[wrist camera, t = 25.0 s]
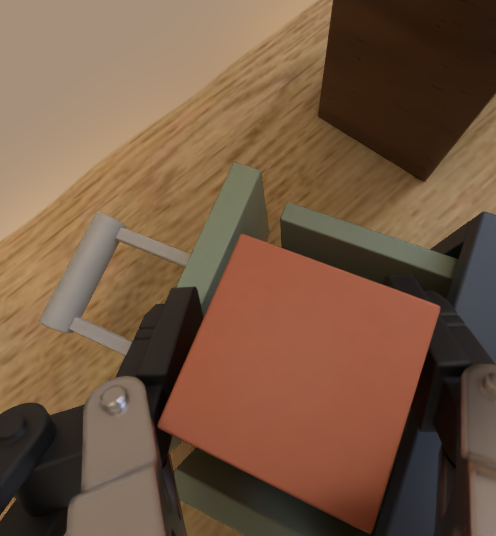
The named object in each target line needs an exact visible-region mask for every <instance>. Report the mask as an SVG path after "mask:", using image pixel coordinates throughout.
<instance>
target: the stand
mask: <svg viewBox="0 0 496 536" xmlns="http://www.w3.org/2000/svg"><path fill="white" fill-rule="evenodd" d="M495 94H496V0H333V5H332V13H331V20H330V28H329V35H328V43H327V51H326V58H325V66H324V73H323V81H322V88H321V96H320V103H319V111H318V116H319V117H321V118H322V119H324V120H325V121H327V122H329V123H330V124H332V125H333V126H335V127H337V128H338V129H340V130H342V131H343V132H345V133H346V134H348V135H350V136H351V137H353V138H355V139H356V140H358V141H359V142H361V143H363V144H364V145H366V146H368V147H369V148H371V149H372V150H374V151H376V152H377V153H379V154H380V155H382V156H384V157H385V158H387V159H389V160H390V161H392V162H393V163H395V164H397V165H398V166H400V167H402V168H403V169H405V170H406V171H408V172H410V173H411V174H413V175H415V176H416V177H418V178H419V179H421V180H423V181H426V180H427V178H428V177H429V176H430V175H431V173H432V172H433V171H434V170H435V168H436V167H437V166H438V165H439V163H440V162H441V161H442V160H443V159H444V157H445V156H446V155H447V154H448V152H449V151H450V150H451V149H452V147H453V146H454V145H455V144H456V142H457V141H458V140H459V139H460V137H461V136H462V135H463V134H464V132H465V131H466V130H467V129H468V127H469V126H470V125H471V124H472V122H473V121H474V120H475V119H476V117H477V116H478V115H479V114H480V112H481V111H482V110H483V109H484V108H485V106H486V105H487V104H488V103H489V101H490V100H491V99H492V98H493V96H494V95H495Z"/></svg>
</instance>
